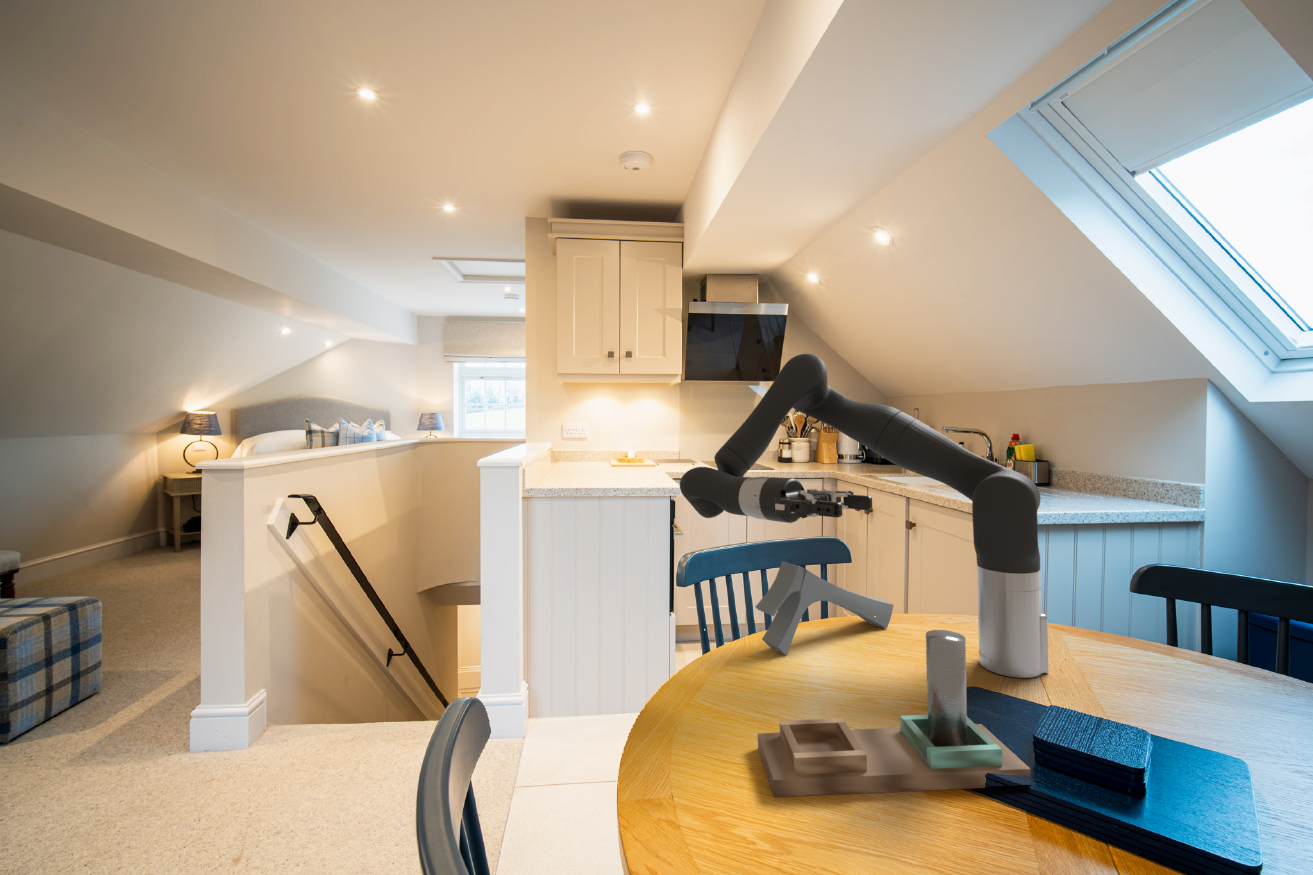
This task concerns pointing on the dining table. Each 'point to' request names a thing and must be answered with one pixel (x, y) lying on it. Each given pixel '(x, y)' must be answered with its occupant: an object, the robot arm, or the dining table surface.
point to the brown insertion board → (878, 758)
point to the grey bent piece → (803, 589)
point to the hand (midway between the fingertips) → (856, 506)
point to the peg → (946, 688)
